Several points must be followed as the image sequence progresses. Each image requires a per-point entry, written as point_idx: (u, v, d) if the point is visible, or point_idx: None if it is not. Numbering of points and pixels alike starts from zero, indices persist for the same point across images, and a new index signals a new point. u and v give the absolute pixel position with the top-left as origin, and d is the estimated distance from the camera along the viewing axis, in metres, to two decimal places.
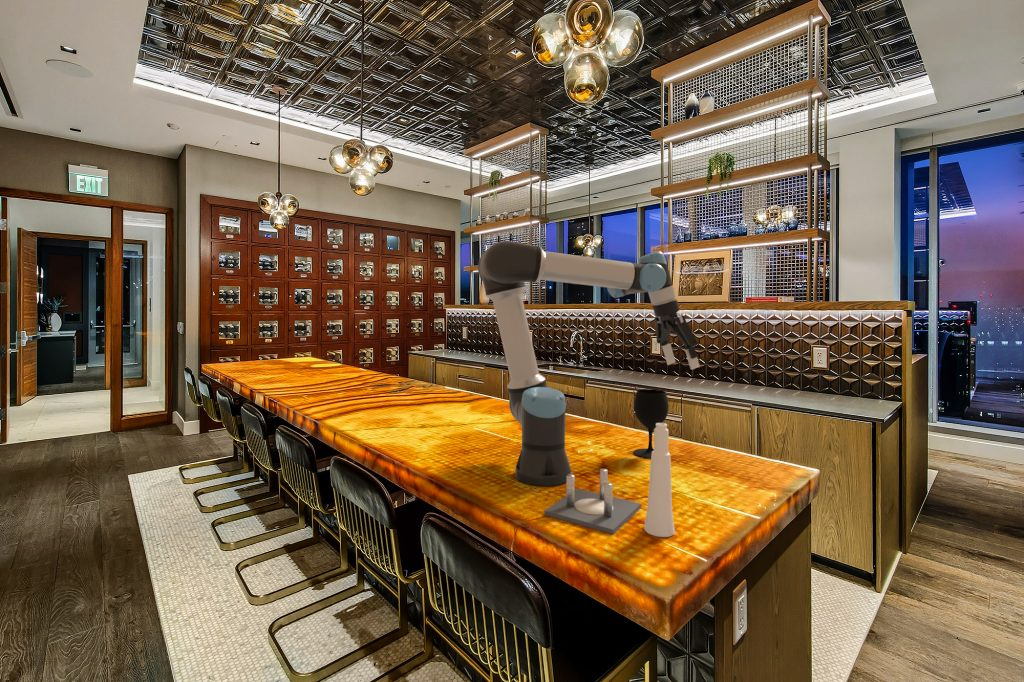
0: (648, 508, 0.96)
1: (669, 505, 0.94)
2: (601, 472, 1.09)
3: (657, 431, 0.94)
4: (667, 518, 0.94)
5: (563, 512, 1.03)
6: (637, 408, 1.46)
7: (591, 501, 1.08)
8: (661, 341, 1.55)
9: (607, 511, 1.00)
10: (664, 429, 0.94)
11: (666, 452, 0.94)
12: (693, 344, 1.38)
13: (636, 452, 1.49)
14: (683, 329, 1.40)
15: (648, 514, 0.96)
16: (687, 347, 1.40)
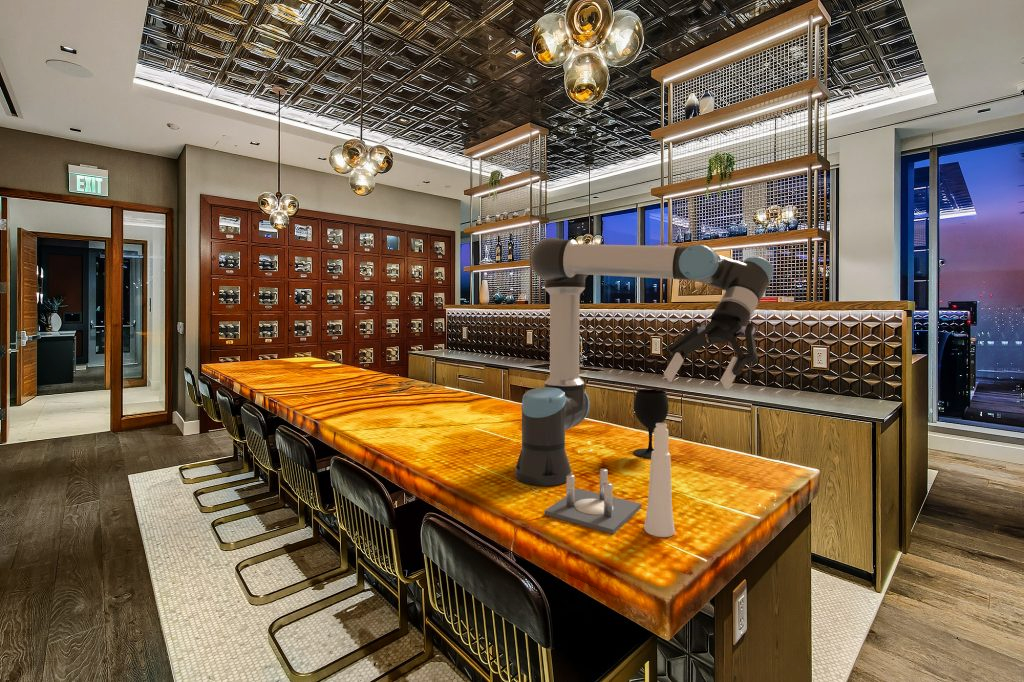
0: (648, 508, 0.96)
1: (669, 505, 0.94)
2: (601, 472, 1.09)
3: (657, 431, 0.94)
4: (667, 518, 0.94)
5: (563, 512, 1.03)
6: (637, 408, 1.46)
7: (591, 501, 1.08)
8: (680, 347, 1.09)
9: (607, 511, 1.00)
10: (664, 429, 0.94)
11: (666, 452, 0.94)
12: (754, 356, 0.96)
13: (636, 452, 1.49)
14: (752, 337, 0.99)
15: (648, 514, 0.96)
16: (743, 354, 0.97)
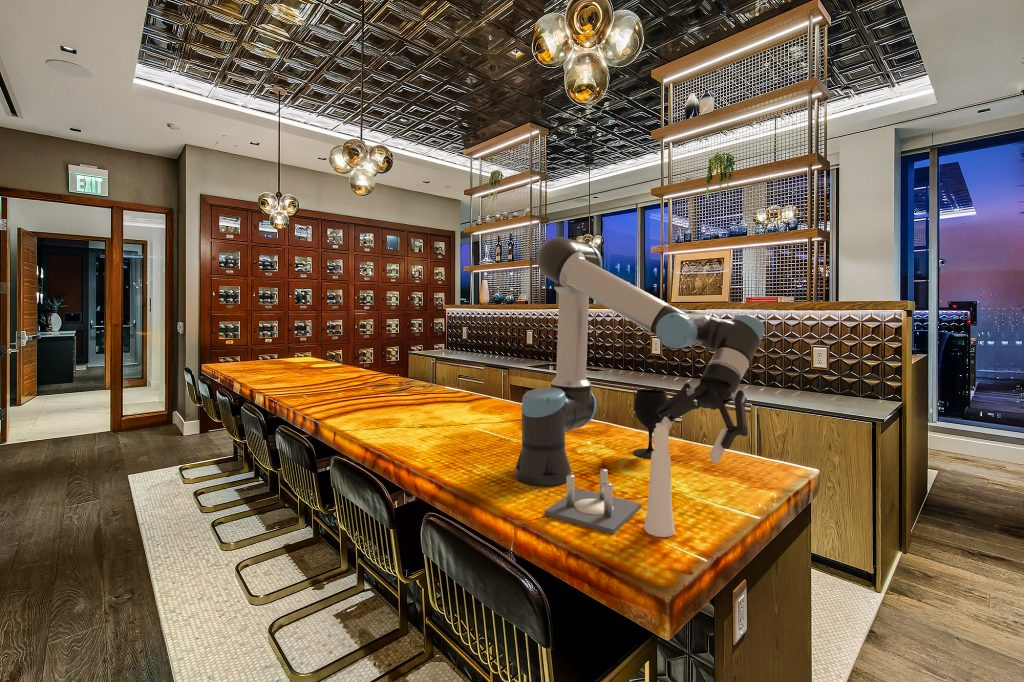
0: (648, 508, 0.96)
1: (669, 505, 0.94)
2: (601, 472, 1.09)
3: (657, 431, 0.94)
4: (667, 518, 0.94)
5: (563, 512, 1.03)
6: (637, 408, 1.46)
7: (591, 501, 1.08)
8: (669, 411, 1.06)
9: (607, 511, 1.00)
10: (664, 429, 0.94)
11: (666, 452, 0.94)
12: (744, 429, 0.92)
13: (636, 452, 1.49)
14: (742, 407, 0.96)
15: (648, 514, 0.96)
16: (732, 427, 0.93)
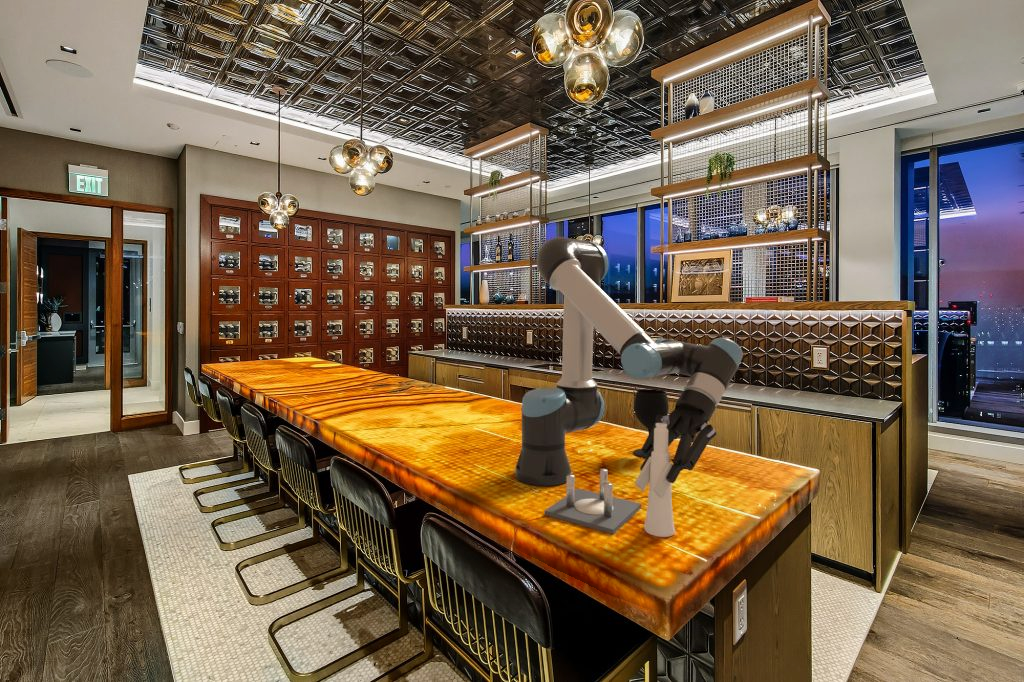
0: (648, 508, 0.96)
1: (669, 505, 0.94)
2: (601, 472, 1.09)
3: (656, 431, 0.94)
4: (667, 518, 0.94)
5: (563, 512, 1.03)
6: (637, 408, 1.46)
7: (591, 501, 1.08)
8: (653, 448, 0.99)
9: (607, 511, 1.00)
10: (664, 429, 0.94)
11: (666, 452, 0.94)
12: (689, 464, 0.92)
13: (636, 452, 1.49)
14: (701, 442, 0.93)
15: (648, 514, 0.96)
16: (676, 462, 0.93)
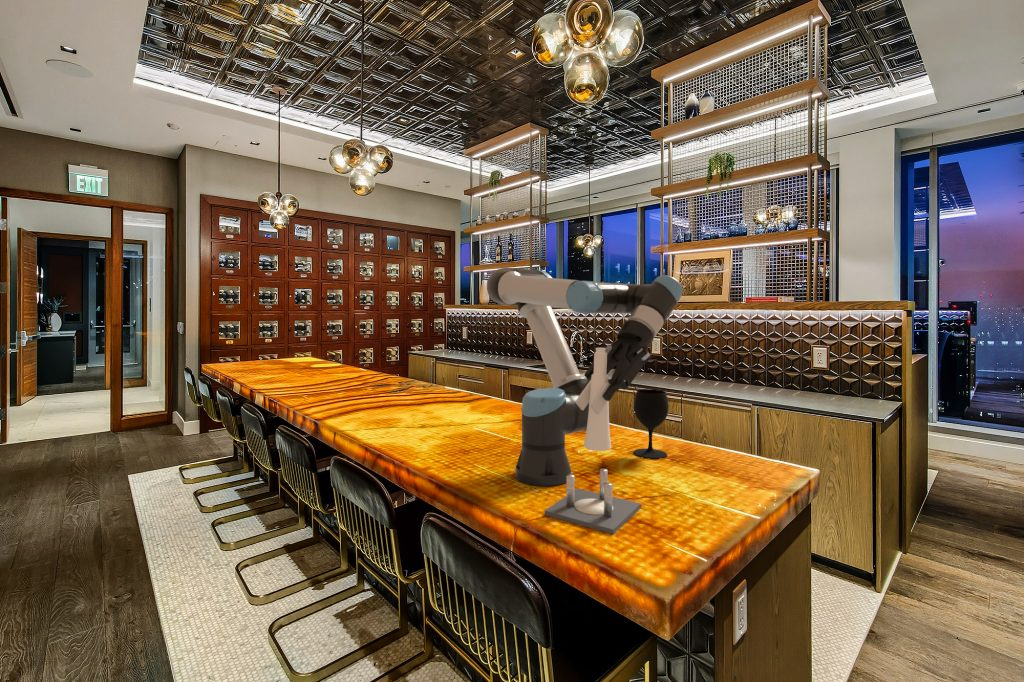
0: (587, 426, 1.04)
1: (606, 422, 1.02)
2: (601, 472, 1.09)
3: (596, 354, 1.02)
4: (603, 434, 1.02)
5: (563, 512, 1.03)
6: (637, 408, 1.46)
7: (591, 501, 1.08)
8: None
9: (607, 511, 1.00)
10: (603, 352, 1.02)
11: (604, 373, 1.02)
12: (624, 383, 1.00)
13: (636, 452, 1.49)
14: (635, 364, 1.01)
15: (587, 431, 1.04)
16: (612, 382, 1.01)
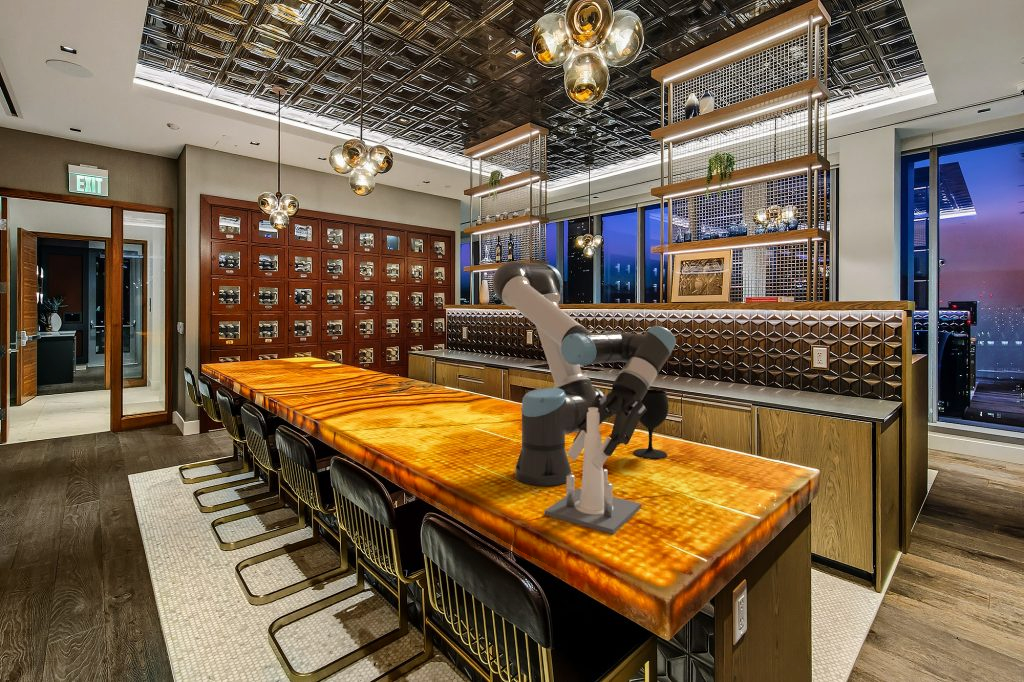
0: (582, 485, 1.06)
1: (600, 481, 1.04)
2: None
3: (588, 415, 1.04)
4: (598, 493, 1.04)
5: (563, 512, 1.03)
6: None
7: None
8: (586, 423, 1.09)
9: (607, 511, 1.00)
10: (595, 412, 1.04)
11: (597, 433, 1.04)
12: (624, 438, 1.00)
13: (636, 452, 1.49)
14: (633, 418, 1.02)
15: (582, 490, 1.05)
16: (614, 437, 1.01)
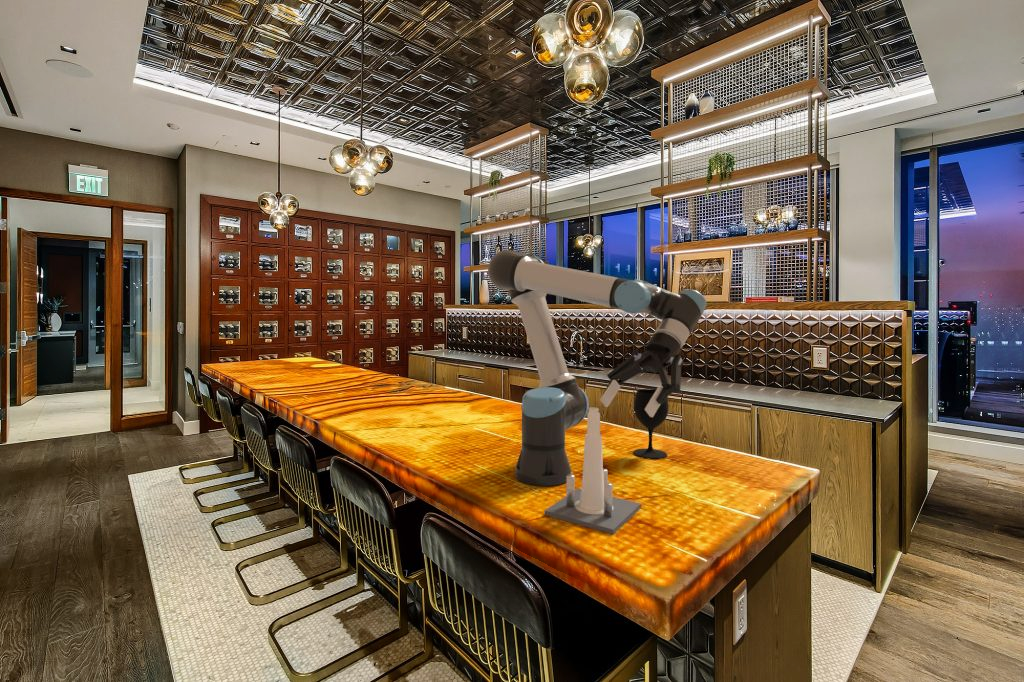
0: (582, 485, 1.06)
1: (600, 482, 1.04)
2: None
3: (589, 415, 1.04)
4: (598, 493, 1.04)
5: (563, 512, 1.03)
6: (637, 408, 1.46)
7: None
8: (617, 375, 1.18)
9: (607, 511, 1.00)
10: (595, 413, 1.04)
11: (597, 433, 1.04)
12: (676, 387, 1.04)
13: (636, 452, 1.49)
14: (677, 368, 1.08)
15: (582, 490, 1.05)
16: (666, 385, 1.05)
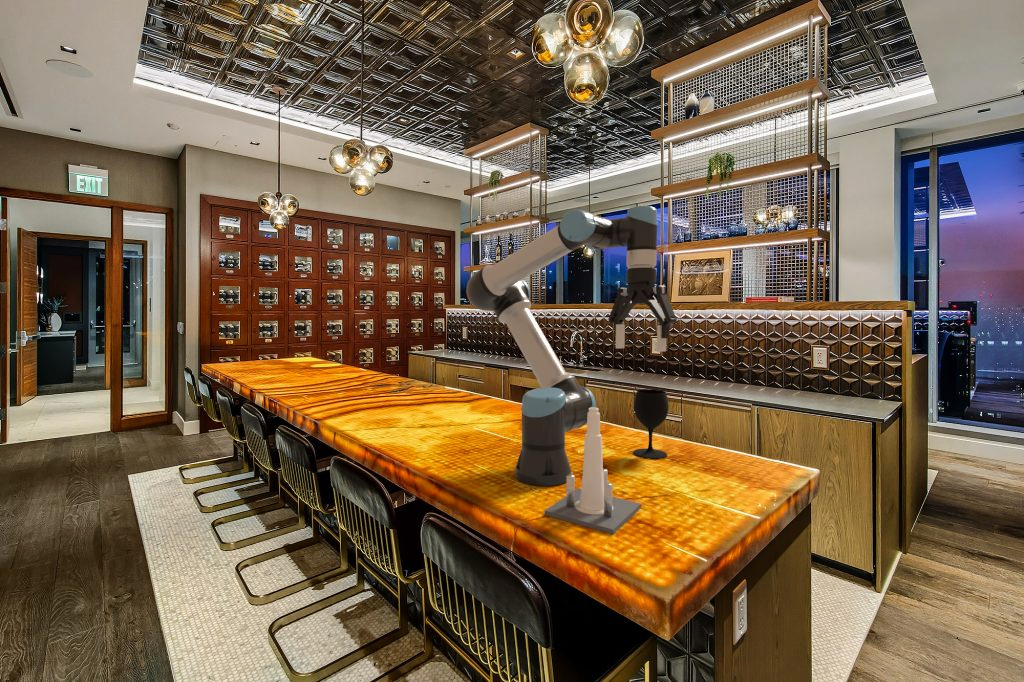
0: (582, 485, 1.06)
1: (600, 482, 1.04)
2: None
3: (589, 415, 1.04)
4: (598, 493, 1.04)
5: (563, 512, 1.03)
6: (637, 408, 1.46)
7: None
8: (617, 318, 1.28)
9: (607, 511, 1.00)
10: (595, 413, 1.04)
11: (597, 433, 1.04)
12: (672, 320, 1.15)
13: (636, 452, 1.49)
14: (664, 300, 1.16)
15: (582, 490, 1.05)
16: (663, 322, 1.16)
